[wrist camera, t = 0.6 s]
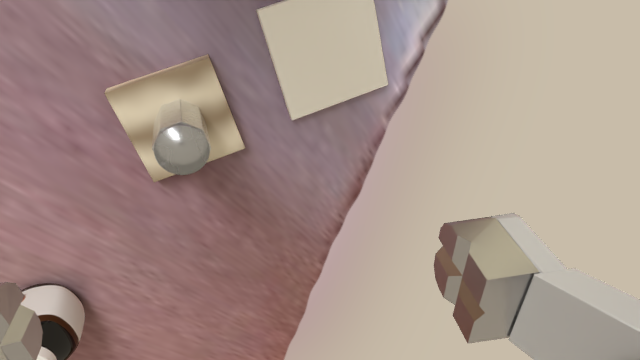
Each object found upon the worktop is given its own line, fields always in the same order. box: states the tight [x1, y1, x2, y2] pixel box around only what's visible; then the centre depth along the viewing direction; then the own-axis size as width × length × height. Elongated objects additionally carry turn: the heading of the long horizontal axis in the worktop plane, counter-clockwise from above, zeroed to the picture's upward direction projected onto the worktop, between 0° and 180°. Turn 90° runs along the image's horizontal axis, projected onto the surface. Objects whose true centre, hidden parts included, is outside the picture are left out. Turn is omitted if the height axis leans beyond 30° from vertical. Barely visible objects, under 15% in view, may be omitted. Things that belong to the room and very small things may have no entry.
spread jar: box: [21, 283, 85, 360], centre depth 53 cm, size 12×11×12 cm
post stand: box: [104, 54, 245, 182], centre depth 48 cm, size 12×12×8 cm
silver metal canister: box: [152, 99, 211, 175], centre depth 46 cm, size 5×5×8 cm
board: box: [256, 0, 388, 120], centre depth 52 cm, size 14×14×1 cm
